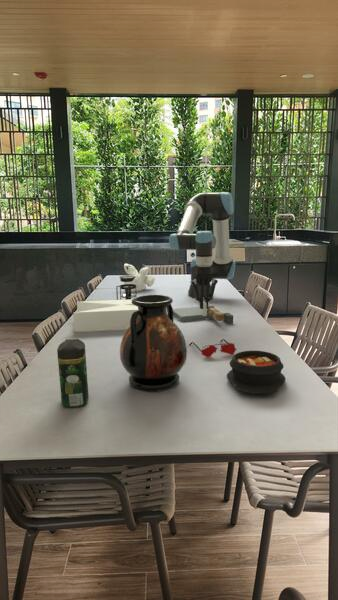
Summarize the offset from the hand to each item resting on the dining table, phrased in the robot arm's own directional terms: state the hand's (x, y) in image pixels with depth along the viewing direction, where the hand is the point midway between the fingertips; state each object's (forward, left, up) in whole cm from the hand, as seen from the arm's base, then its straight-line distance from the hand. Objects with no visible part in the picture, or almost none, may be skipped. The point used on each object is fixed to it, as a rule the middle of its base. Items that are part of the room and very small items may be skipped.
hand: (203, 315), depth 207 cm
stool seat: (-1, -17, -5) cm, 17 cm away
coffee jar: (+65, +62, -5) cm, 91 cm away
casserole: (+8, +67, -5) cm, 68 cm away
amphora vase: (+39, +56, -5) cm, 69 cm away
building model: (+35, -16, -5) cm, 39 cm away
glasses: (+10, +34, -5) cm, 35 cm away
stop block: (-12, 0, -5) cm, 13 cm away
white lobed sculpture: (+9, -93, -5) cm, 93 cm away
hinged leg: (-7, -3, -2) cm, 8 cm away
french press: (+26, -48, -5) cm, 55 cm away
